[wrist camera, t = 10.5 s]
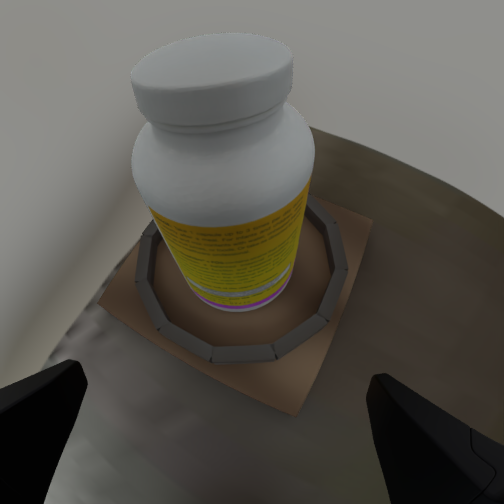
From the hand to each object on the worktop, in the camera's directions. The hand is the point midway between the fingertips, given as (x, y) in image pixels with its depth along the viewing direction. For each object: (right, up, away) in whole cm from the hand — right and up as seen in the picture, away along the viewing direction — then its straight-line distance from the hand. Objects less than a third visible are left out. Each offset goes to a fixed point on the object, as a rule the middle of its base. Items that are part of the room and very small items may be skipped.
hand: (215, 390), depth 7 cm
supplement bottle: (0, +3, +11) cm, 11 cm away
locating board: (0, +3, +12) cm, 12 cm away
